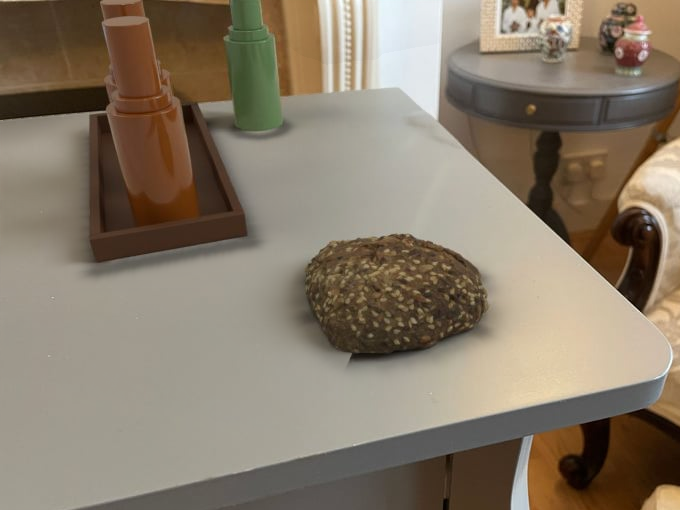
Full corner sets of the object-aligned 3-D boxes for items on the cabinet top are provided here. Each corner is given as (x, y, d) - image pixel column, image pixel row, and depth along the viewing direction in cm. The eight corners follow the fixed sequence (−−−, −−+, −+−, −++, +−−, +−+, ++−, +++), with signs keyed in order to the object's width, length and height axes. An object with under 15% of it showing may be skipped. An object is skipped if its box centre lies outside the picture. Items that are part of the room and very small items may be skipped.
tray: (248, 241, 53) (244, 213, 52) (98, 269, 50) (89, 239, 48) (200, 123, 76) (196, 101, 75) (95, 137, 73) (89, 114, 71)
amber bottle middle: (118, 193, 60) (70, 5, 51) (150, 169, 64) (111, -7, 55) (171, 199, 58) (132, 8, 50) (200, 174, 63) (168, -5, 54)
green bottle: (227, 133, 74) (205, -22, 65) (247, 117, 78) (229, -30, 69) (272, 137, 72) (255, -20, 63) (290, 121, 77) (276, -29, 68)
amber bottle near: (122, 233, 53) (67, 27, 44) (157, 203, 58) (113, 11, 49) (181, 240, 52) (138, 31, 43) (212, 210, 57) (179, 14, 48)
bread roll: (316, 369, 40) (310, 303, 37) (300, 264, 50) (294, 206, 48) (514, 343, 42) (523, 278, 39) (460, 247, 52) (464, 191, 49)
